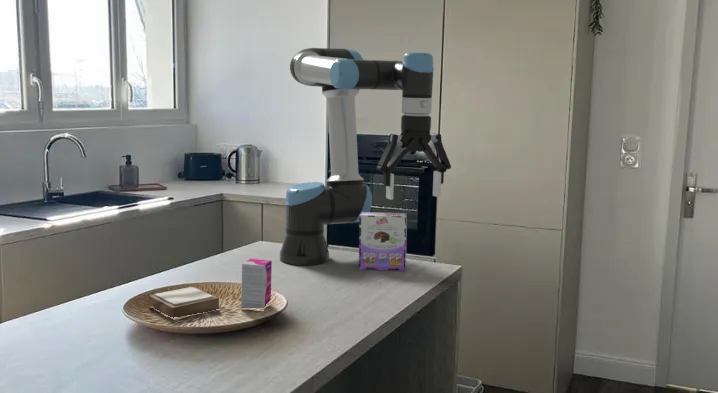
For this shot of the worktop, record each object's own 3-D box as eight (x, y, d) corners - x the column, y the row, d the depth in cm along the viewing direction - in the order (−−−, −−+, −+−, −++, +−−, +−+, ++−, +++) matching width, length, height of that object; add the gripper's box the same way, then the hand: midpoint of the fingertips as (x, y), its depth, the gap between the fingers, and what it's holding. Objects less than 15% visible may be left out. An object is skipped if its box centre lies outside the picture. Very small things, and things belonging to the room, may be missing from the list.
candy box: (405, 266, 215) (407, 212, 212) (405, 271, 209) (406, 216, 206) (360, 264, 216) (361, 210, 213) (358, 269, 210) (359, 214, 208)
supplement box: (264, 312, 170) (264, 265, 168) (240, 310, 171) (240, 263, 169) (272, 305, 176) (272, 259, 174) (249, 303, 177) (248, 258, 175)
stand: (148, 307, 172) (148, 293, 171) (193, 298, 180) (193, 285, 179) (173, 320, 163) (172, 306, 162) (219, 310, 171) (218, 296, 170)
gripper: (377, 115, 173) (375, 202, 176) (466, 115, 183) (462, 197, 186) (365, 113, 180) (363, 197, 183) (451, 113, 189) (447, 193, 193)
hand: (413, 197), depth 185 cm, fingers open, 13 cm apart
